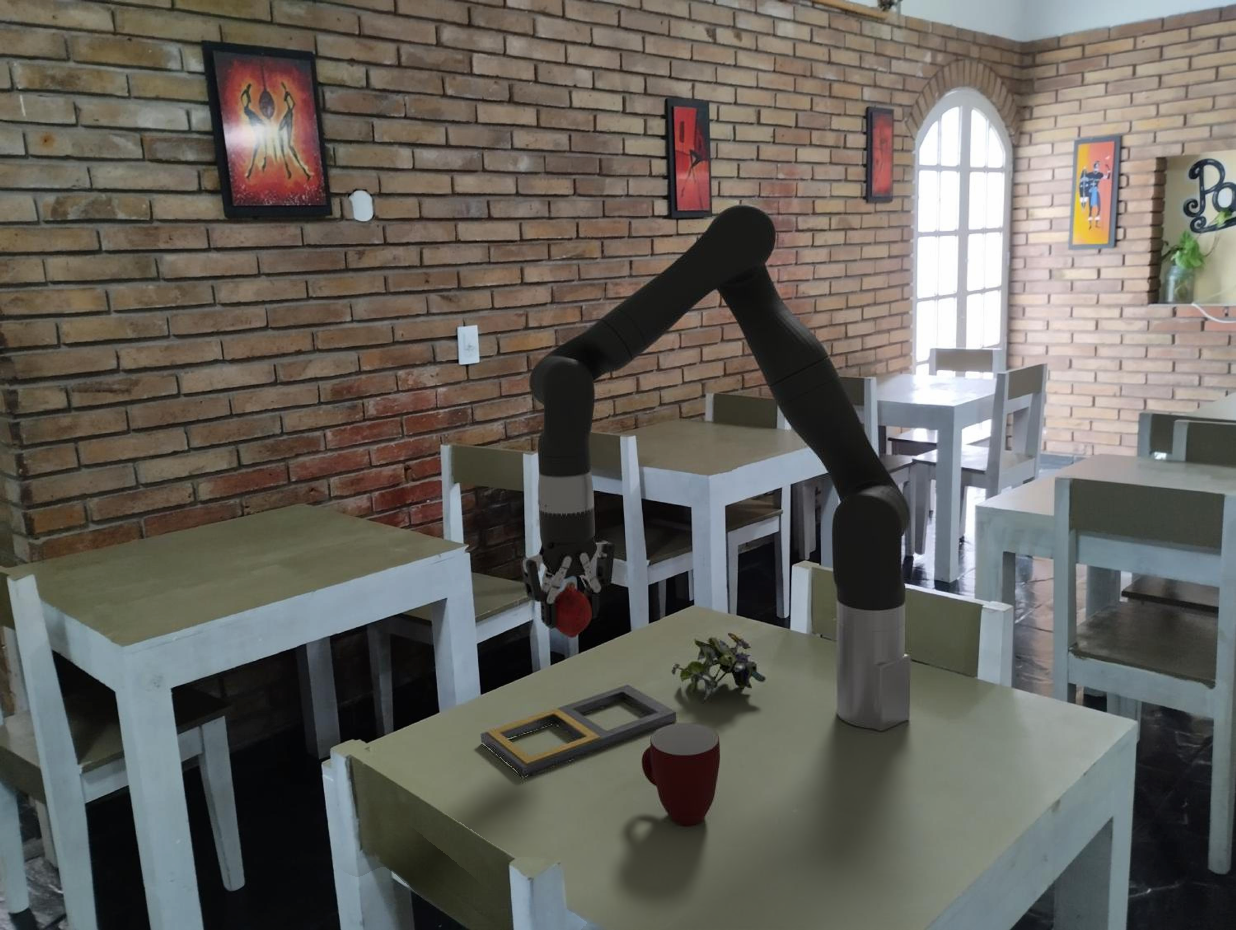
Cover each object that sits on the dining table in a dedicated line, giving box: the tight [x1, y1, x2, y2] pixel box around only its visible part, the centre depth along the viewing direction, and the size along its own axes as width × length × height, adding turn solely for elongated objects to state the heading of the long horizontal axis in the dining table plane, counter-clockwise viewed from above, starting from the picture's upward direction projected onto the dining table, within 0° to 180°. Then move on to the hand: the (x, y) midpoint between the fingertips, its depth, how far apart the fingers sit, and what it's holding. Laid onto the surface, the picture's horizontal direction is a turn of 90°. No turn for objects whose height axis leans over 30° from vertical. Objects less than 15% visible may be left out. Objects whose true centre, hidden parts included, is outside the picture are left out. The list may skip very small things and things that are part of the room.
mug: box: [641, 722, 721, 826], centre depth 114 cm, size 11×8×10 cm
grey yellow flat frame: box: [480, 684, 677, 777], centre depth 136 cm, size 12×25×2 cm, turn 125°
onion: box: [554, 581, 592, 639], centre depth 134 cm, size 6×6×8 cm
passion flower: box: [671, 632, 766, 704], centre depth 145 cm, size 11×11×12 cm
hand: (571, 621), depth 134 cm, fingers closed on onion, 6 cm apart
